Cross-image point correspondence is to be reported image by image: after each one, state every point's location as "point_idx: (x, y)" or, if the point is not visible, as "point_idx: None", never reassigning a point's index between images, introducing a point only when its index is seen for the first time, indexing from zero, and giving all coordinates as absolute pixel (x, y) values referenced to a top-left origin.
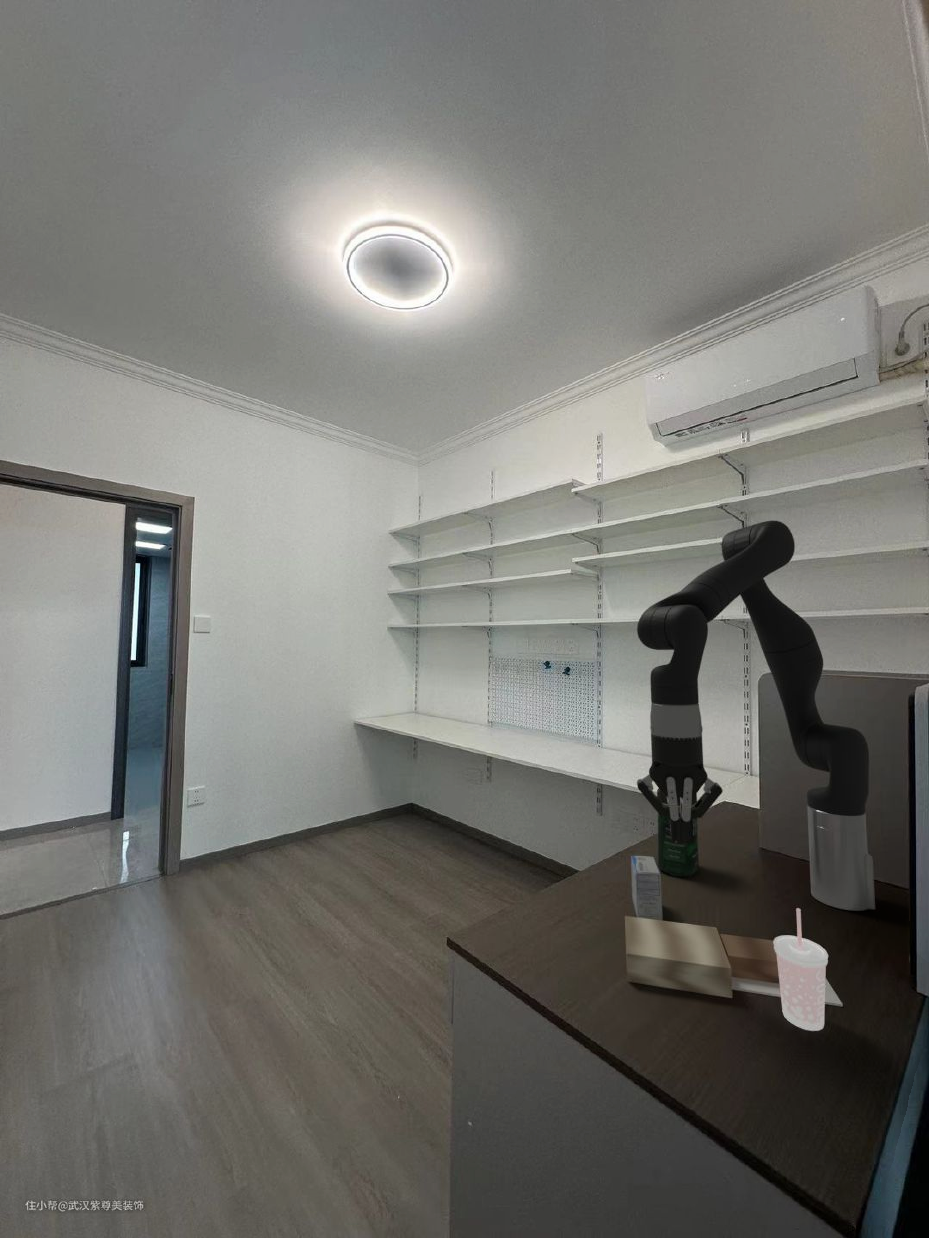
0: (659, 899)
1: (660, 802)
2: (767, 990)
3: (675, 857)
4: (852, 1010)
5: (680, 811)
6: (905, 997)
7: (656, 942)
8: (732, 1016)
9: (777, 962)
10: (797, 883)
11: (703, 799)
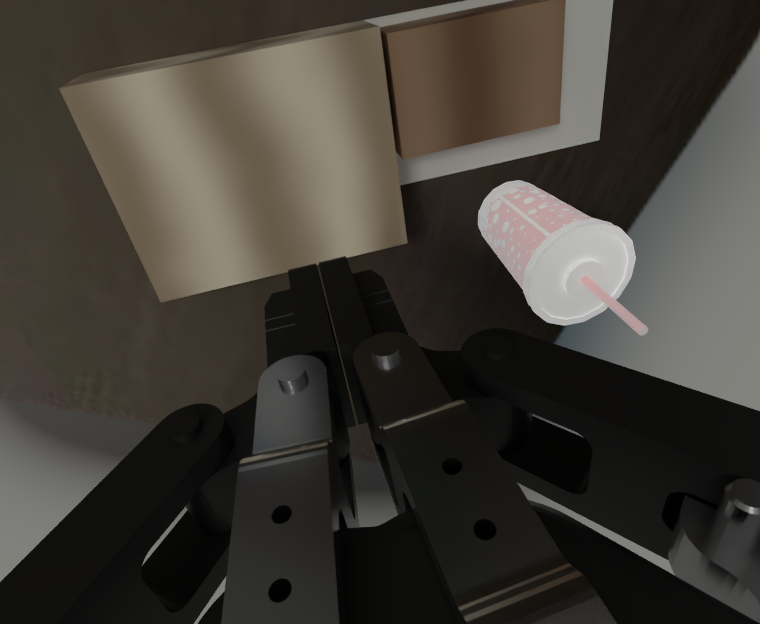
0: None
1: (188, 496)
2: (465, 160)
3: None
4: (608, 142)
5: (361, 389)
6: (740, 34)
7: (217, 214)
8: (387, 271)
9: (514, 255)
10: None
11: (603, 505)
